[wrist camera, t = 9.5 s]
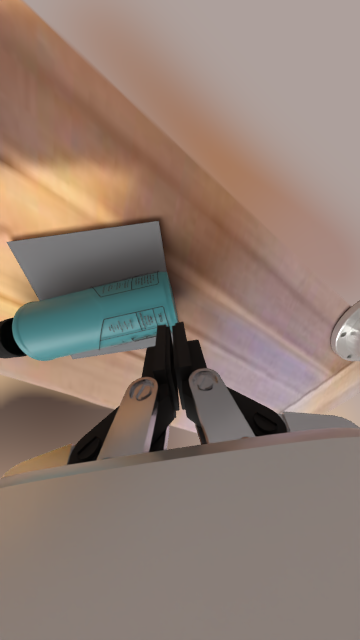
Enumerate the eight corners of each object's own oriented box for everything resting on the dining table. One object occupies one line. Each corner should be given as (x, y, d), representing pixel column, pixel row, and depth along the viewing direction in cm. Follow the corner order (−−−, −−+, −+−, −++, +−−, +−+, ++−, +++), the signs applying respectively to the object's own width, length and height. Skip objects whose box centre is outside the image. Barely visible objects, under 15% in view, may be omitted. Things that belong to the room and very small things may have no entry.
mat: (158, 221, 17) (158, 221, 16) (177, 340, 24) (178, 343, 23) (11, 241, 16) (6, 242, 16) (74, 356, 23) (72, 359, 23)
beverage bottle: (178, 250, 15) (-27, 297, 16) (194, 313, 12) (-54, 368, 13) (183, 289, 21) (35, 322, 21) (195, 338, 18) (26, 374, 19)
